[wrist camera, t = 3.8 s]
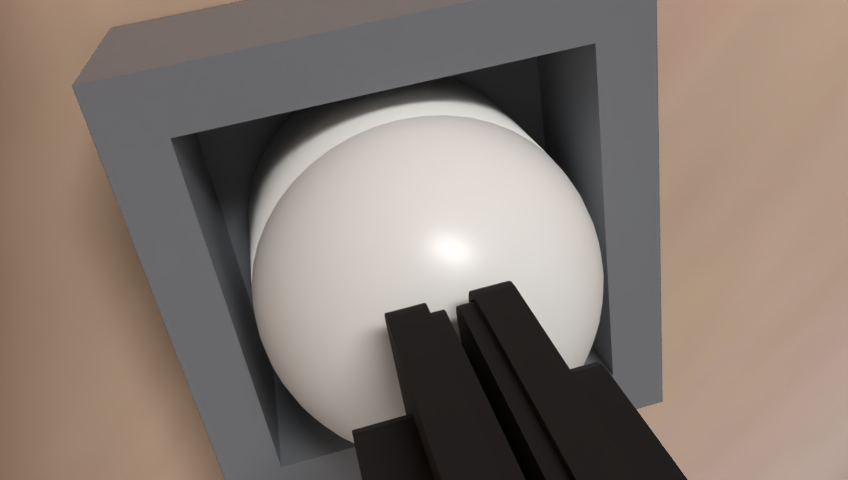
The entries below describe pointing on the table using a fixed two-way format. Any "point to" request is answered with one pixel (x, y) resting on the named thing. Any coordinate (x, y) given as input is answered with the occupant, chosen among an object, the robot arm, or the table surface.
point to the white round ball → (407, 238)
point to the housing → (342, 79)
